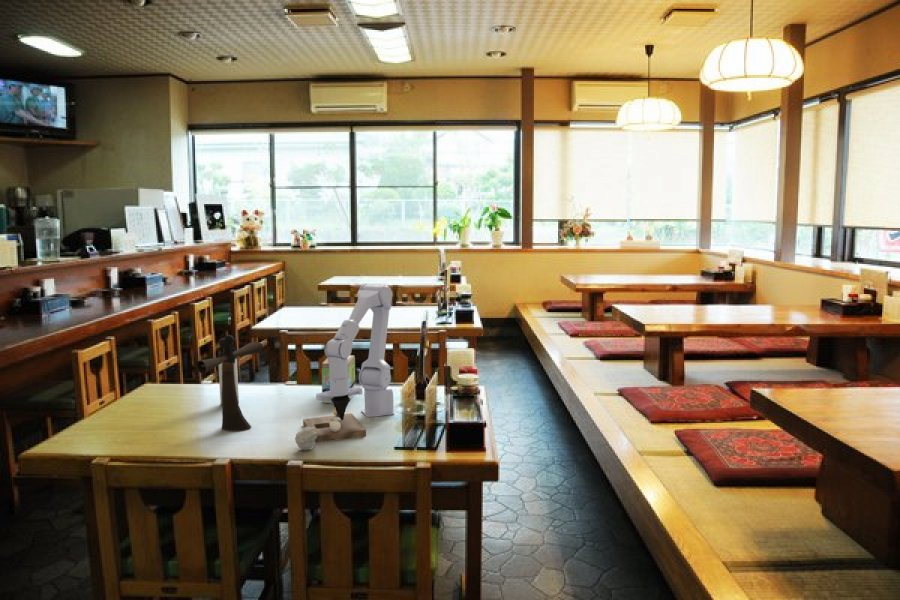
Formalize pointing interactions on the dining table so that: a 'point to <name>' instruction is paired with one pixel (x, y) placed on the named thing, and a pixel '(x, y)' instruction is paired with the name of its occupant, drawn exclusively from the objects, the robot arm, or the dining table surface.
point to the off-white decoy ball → (335, 426)
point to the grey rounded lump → (306, 438)
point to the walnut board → (347, 430)
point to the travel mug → (234, 376)
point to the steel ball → (336, 418)
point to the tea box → (327, 376)
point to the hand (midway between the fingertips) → (340, 419)
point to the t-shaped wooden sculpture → (230, 381)
